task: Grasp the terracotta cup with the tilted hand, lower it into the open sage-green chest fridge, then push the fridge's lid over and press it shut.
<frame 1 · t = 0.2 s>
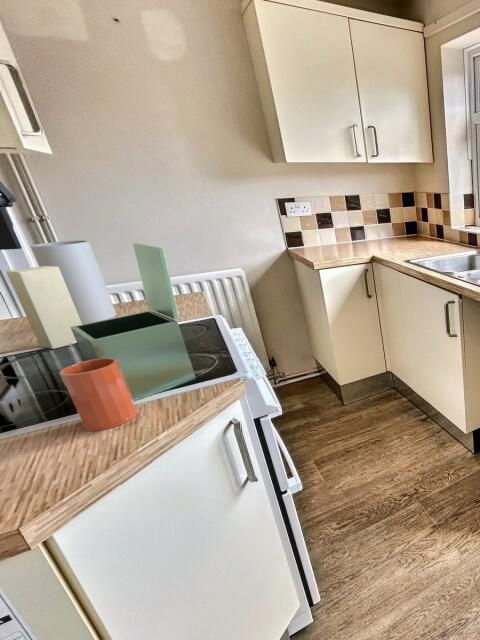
cylinder vase: (92, 322, 137), on the worktop
cup: (112, 419, 78), on the worktop
fridge: (147, 383, 92), on the worktop
fridge lid: (155, 280, 90), point 21 cm above the worktop, hinge at 95.0°
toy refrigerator: (64, 343, 118), on the worktop
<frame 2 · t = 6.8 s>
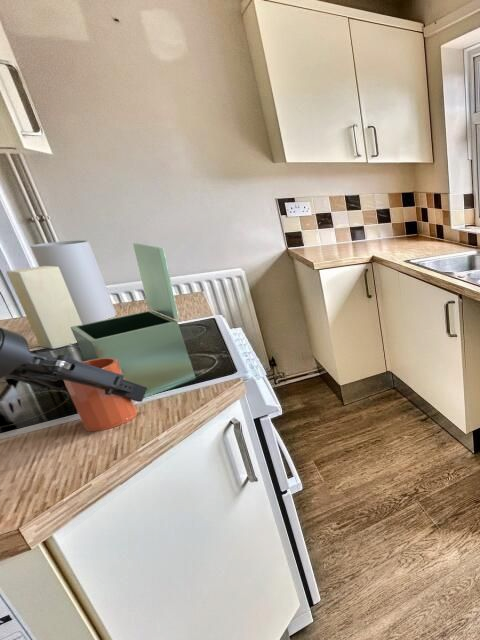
hand: (122, 394, 80), 4 cm above the worktop, tool tilted 45°, fingers closed on cup, 7 cm apart
cup: (112, 419, 78), on the worktop, touching gripper
everything else where it was.
when the fingers open (16 cm above the worktop, at t = 15.1 s): cup drops 11 cm, resting on fridge.
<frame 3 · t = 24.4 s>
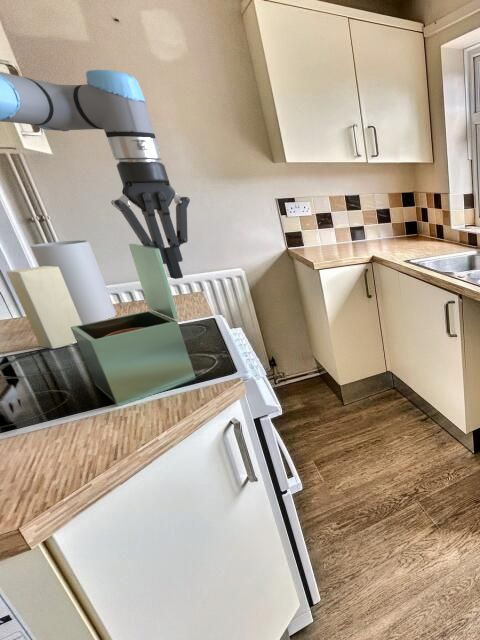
hand: (176, 277, 93), 21 cm above the worktop, tool pointing down, fingers closed
cup: (145, 380, 92), point 1 cm above the worktop, touching fridge
fridge lid: (153, 280, 90), point 22 cm above the worktop, hinge at 91.9°, touching gripper
everything else where it was.
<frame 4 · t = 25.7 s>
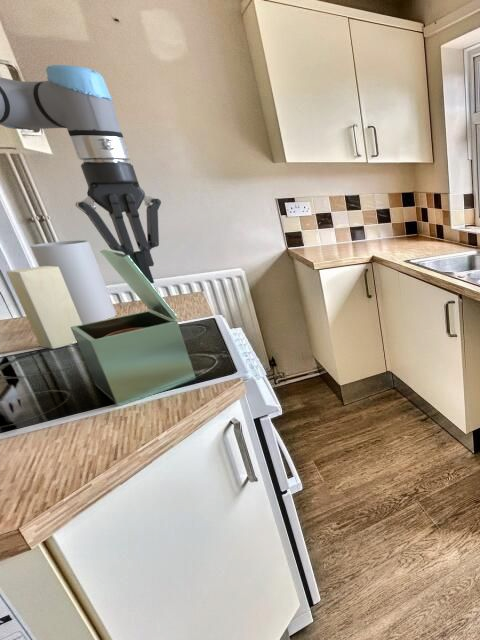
hand: (147, 282, 89), 21 cm above the worktop, tool pointing down, fingers closed
fridge lid: (139, 284, 88), point 21 cm above the worktop, hinge at 71.9°, touching gripper
everything else where it was.
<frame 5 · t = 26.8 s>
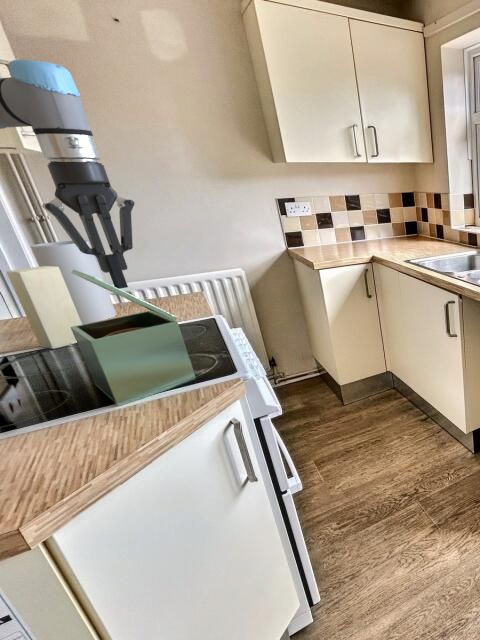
hand: (121, 287, 86), 21 cm above the worktop, tool pointing down, fingers closed
fridge lid: (125, 295, 86), point 20 cm above the worktop, hinge at 46.1°
everything else where it was.
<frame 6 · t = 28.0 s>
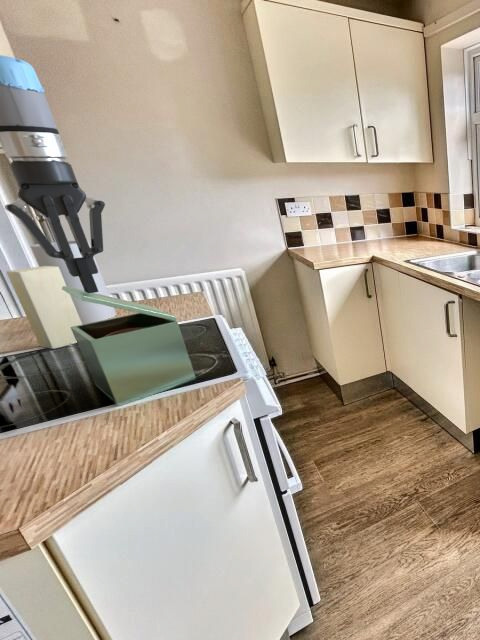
hand: (91, 291, 82), 21 cm above the worktop, tool pointing down, fingers closed
fridge lid: (120, 303, 86), point 18 cm above the worktop, hinge at 31.2°, touching gripper
everything else where it was.
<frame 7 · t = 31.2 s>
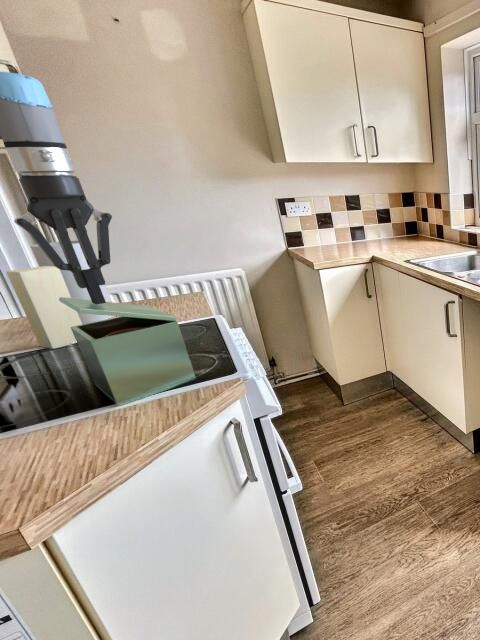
hand: (99, 302, 83), 19 cm above the worktop, tool pointing down, fingers closed
fridge lid: (119, 309, 86), point 17 cm above the worktop, hinge at 21.8°, touching gripper
everything else where it was.
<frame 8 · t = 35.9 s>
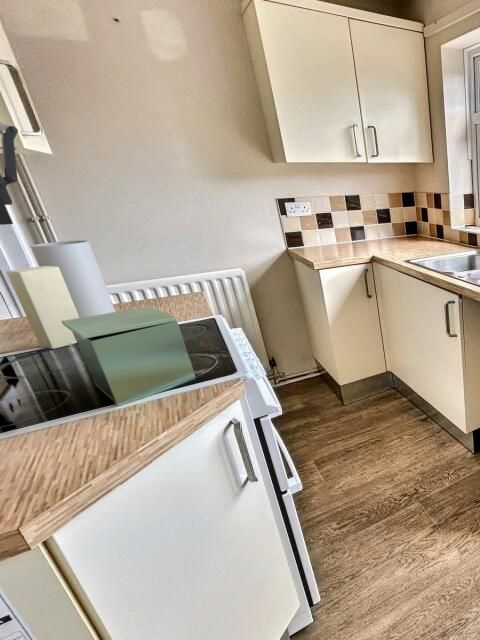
hand: (6, 223, 78), 34 cm above the worktop, tool pointing down, fingers closed
fridge lid: (120, 320, 87), point 15 cm above the worktop, hinge at 2.7°
everything else where it was.
at the end: cup inside the target area in the fridge (0.1 cm from its centre), point 0.8 cm above the fridge's base; fridge lid at +3° (first picture: +95°) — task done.
